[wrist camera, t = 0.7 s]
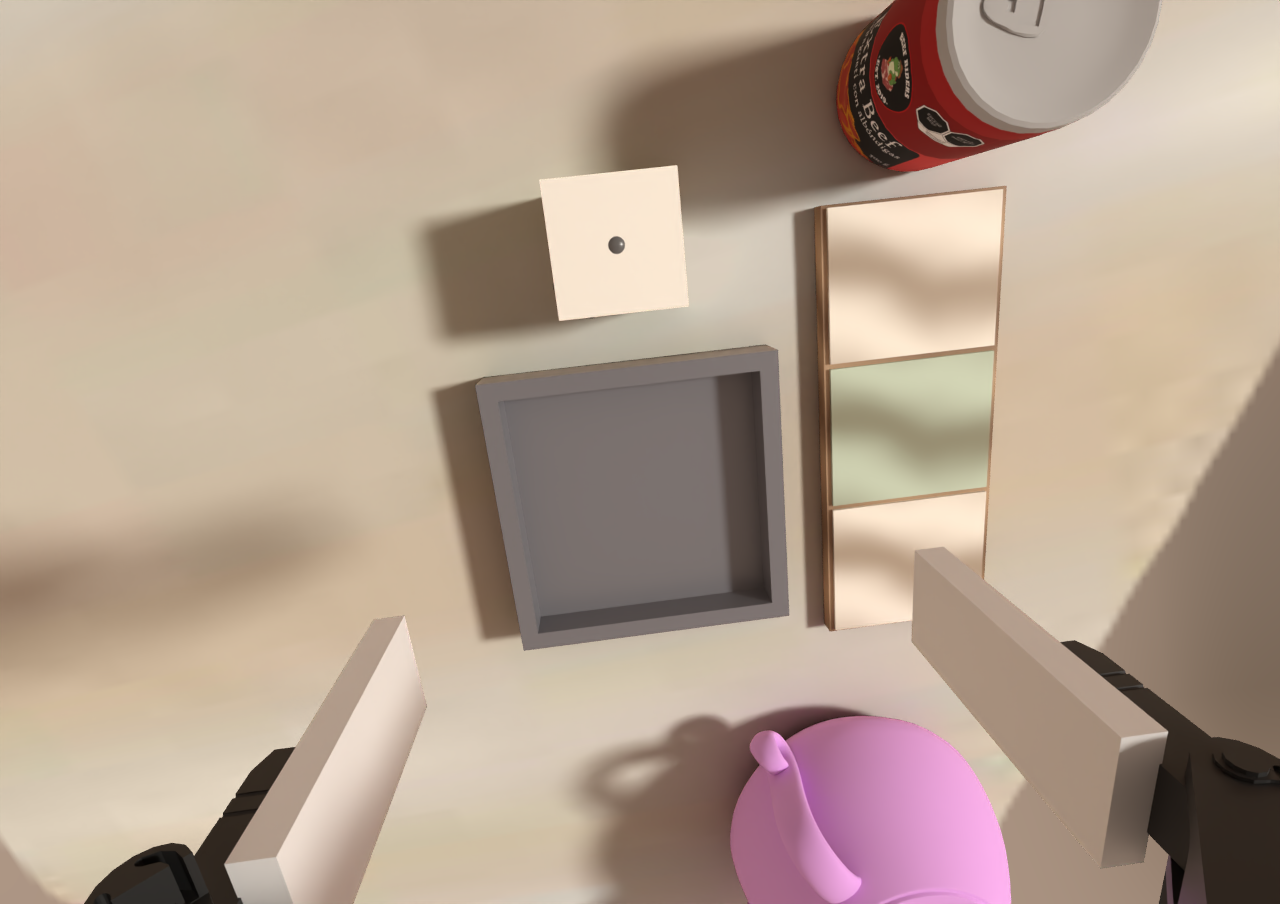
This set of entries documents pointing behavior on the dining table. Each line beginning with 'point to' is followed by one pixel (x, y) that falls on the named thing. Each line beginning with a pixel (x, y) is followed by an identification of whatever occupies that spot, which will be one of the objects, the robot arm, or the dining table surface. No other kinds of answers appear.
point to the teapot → (866, 819)
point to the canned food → (984, 73)
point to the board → (904, 391)
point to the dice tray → (640, 494)
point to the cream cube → (615, 242)
